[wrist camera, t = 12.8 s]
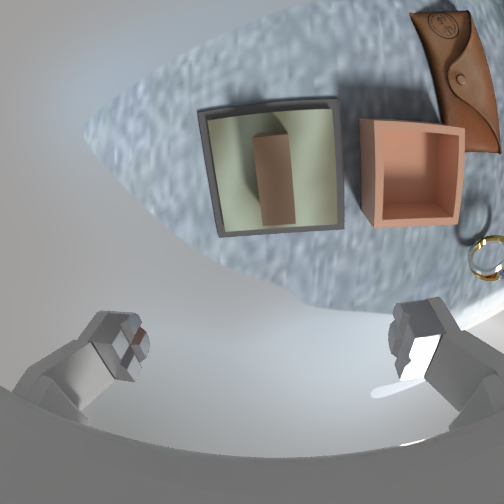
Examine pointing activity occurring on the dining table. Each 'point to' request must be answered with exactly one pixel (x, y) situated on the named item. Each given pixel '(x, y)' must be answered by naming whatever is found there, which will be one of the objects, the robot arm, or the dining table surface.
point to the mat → (267, 108)
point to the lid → (275, 169)
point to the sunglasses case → (461, 76)
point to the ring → (486, 274)
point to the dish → (411, 172)
